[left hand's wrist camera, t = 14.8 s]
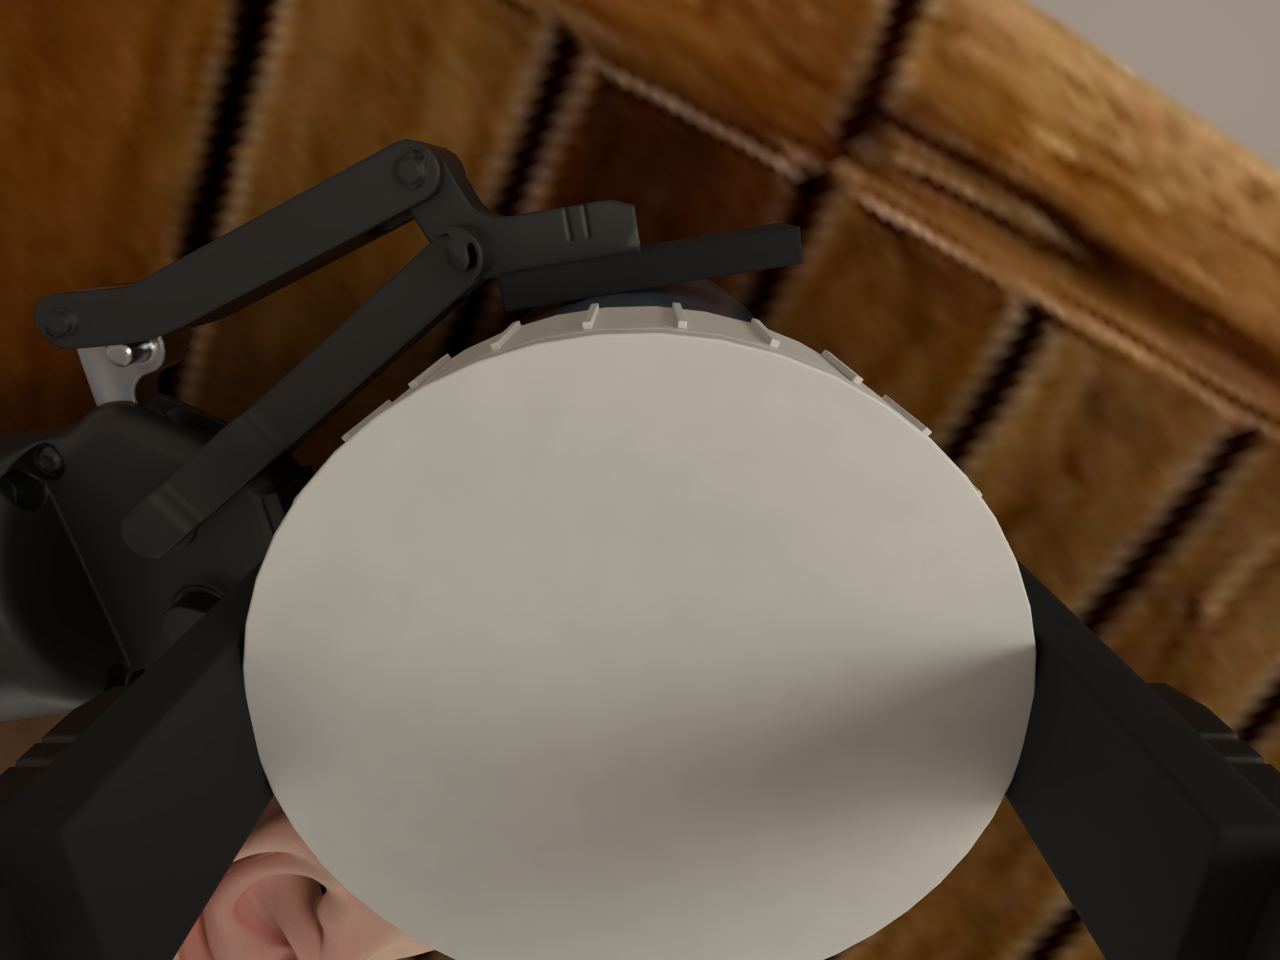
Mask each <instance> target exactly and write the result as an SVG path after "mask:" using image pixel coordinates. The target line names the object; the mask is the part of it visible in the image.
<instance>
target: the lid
mask: <svg viewBox="0 0 1280 960" xmlns="http://www.w3.org/2000/svg"><path fill="white" fill-rule="evenodd" d="M862 381H863V379H862V378H861V377H860V376H858V375H857V374H856V373H855V372H853V371H852V370H851V369H850V368H849V367H847V366H846V365H845V364H844V363H842V362H841V361H840V360H839V359H837V358H836V357H835V356H834V355H832V354H831V353H830V352H828V351H826V350H824V351H823V353H822V355H821V354H819V353H817V352H815V351H814V350H812V349H810V348H808V347H807V346H805V345H803V344H801V343H800V342H798V341H795V340H793V339H790V338H788V337H785V336H783V335H780V334H778V333H775V332H773V331H770V330H768V329H767V328H766V327H765V326H764V325H763V324H762V323H761V322H760V321H759V320H757V319H754V318H752V320H751V323H749V322H745V321H741V320H737V319H733V318H729V317H725V316H721V315H717V314H713V313H709V312H704V311H695V310H686V309H682V307H681V305H680V303H673V304H672V308H667V307H658V306H643V307H605V308H599V304H598V303H596V304H591V305H590V307H589V309H588V310H586V311H580V312H574V313H567V314H561V315H556V316H552V317H549V318H546V319H542V320H539V321H536V322H532V323H529V324H526V325H522V326H521V324H520V321H516V322H513V323H512V324H511V325H510V326H509V327H508V328H507V329H506V330H505V331H504V332H502V333H500V334H498V335H496V336H494V337H492V338H490V339H487V340H485V341H483V342H481V343H479V344H476V345H474V346H472V347H470V348H468V349H466V350H464V351H463V352H461V353H459V354H458V355H456V356H455V357H453V358H452V359H451V357H450V356H449V354H446V355H445V356H443V357H442V358H440V359H439V360H438V361H437V362H435V363H434V364H433V365H431V366H430V367H429V368H428V369H426V370H425V371H424V372H423V373H421V374H420V375H419V376H417V377H416V378H415V379H414V380H412V381H411V382H410V383H409V384H408V385H409V387H410V388H409V389H408V390H407V391H406V392H404V393H403V394H402V395H401V396H400V397H398V398H397V399H396V400H395V401H393V402H391V401H390V400H387V401H386V402H385V403H384V404H382V405H381V406H380V407H378V408H377V409H376V410H375V411H373V412H372V413H371V414H370V415H368V416H367V417H366V418H365V419H363V420H362V421H361V422H359V423H358V424H357V425H356V426H354V427H353V428H352V429H351V430H349V431H348V432H347V433H346V434H345V435H344V436H343V437H342V439H343V440H344V441H345V443H344V444H343V445H341V446H340V447H339V448H338V449H337V450H336V451H335V452H334V453H333V454H332V455H331V456H330V457H329V459H328V460H327V461H326V462H325V463H324V464H323V466H322V467H321V468H320V469H319V470H318V471H317V473H316V474H315V475H314V476H313V477H312V478H311V480H310V481H309V482H308V483H307V484H306V485H305V487H304V488H303V489H302V490H301V491H300V493H299V494H298V495H297V496H296V497H295V499H294V501H293V504H292V506H291V508H290V509H289V511H288V513H287V514H286V516H285V517H284V519H283V521H282V522H281V524H280V526H279V527H278V529H277V530H276V532H275V534H274V536H273V539H272V541H271V543H270V546H269V548H268V551H267V553H266V556H265V558H264V560H263V563H262V565H261V568H260V570H259V573H258V575H257V577H256V581H255V586H254V590H253V594H252V598H251V603H250V607H249V611H248V616H247V620H246V627H245V641H244V656H243V678H244V687H245V693H246V698H247V703H248V708H249V713H250V717H251V722H252V726H253V731H254V735H255V740H256V744H257V749H258V754H259V757H260V761H261V765H262V767H263V770H264V772H265V774H266V777H267V779H268V782H269V784H270V787H271V789H272V791H273V794H274V795H275V797H276V799H277V800H278V802H279V804H280V806H281V807H282V809H283V811H284V812H285V814H286V816H287V818H288V819H289V821H290V823H291V824H292V826H293V828H294V829H295V831H296V832H297V833H298V835H299V836H300V837H301V838H302V840H303V841H304V842H305V844H306V845H307V846H308V847H309V849H310V850H311V851H312V853H313V854H314V855H315V856H316V858H317V859H318V860H319V862H320V863H321V864H322V865H323V866H324V867H325V868H326V869H327V870H328V871H329V872H330V873H331V874H332V875H333V876H334V877H335V878H336V879H337V880H338V881H339V882H340V883H341V884H342V885H343V886H344V887H345V888H346V889H347V890H348V891H349V892H350V893H351V894H352V895H354V896H355V897H356V898H357V899H359V900H360V901H361V902H363V903H364V904H365V905H366V906H368V907H369V908H370V909H371V910H373V911H374V912H375V913H376V914H378V915H379V916H380V917H381V918H383V919H384V920H386V921H387V922H389V923H390V924H392V925H394V926H395V927H397V928H398V929H400V930H402V931H403V932H405V933H406V934H408V935H409V936H411V937H413V938H414V939H416V940H417V941H419V942H421V943H423V944H425V945H427V946H429V947H431V948H433V949H435V950H437V951H439V952H441V953H443V954H445V955H447V956H449V957H451V958H453V959H455V960H824V959H826V958H829V957H831V956H833V955H836V954H838V953H839V952H841V951H843V950H845V949H847V948H849V947H851V946H852V945H854V944H856V943H858V942H860V941H862V940H864V939H865V938H867V937H869V936H871V935H873V934H874V933H876V932H877V931H879V930H880V929H882V928H883V927H885V926H886V925H888V924H889V923H890V922H892V921H893V920H895V919H896V918H898V917H899V916H901V915H902V914H904V913H905V912H907V911H908V910H909V909H910V908H911V907H913V906H914V905H915V904H916V903H917V902H918V901H920V900H921V899H922V898H923V897H924V896H925V895H927V894H928V893H929V892H930V891H931V890H932V889H934V888H935V887H936V886H937V885H938V884H939V883H940V882H941V881H942V880H943V879H944V878H945V877H946V876H947V875H948V874H949V873H950V871H951V870H952V869H953V868H954V867H955V866H956V865H957V864H958V863H959V862H960V861H961V859H962V858H963V857H964V856H965V855H966V854H967V853H968V852H969V850H970V849H971V848H972V846H973V845H974V843H975V842H976V841H977V839H978V838H979V836H980V835H981V833H982V832H983V831H984V829H985V828H986V826H987V825H988V824H989V822H990V821H991V819H992V818H993V816H994V814H995V812H996V810H997V809H998V807H999V805H1000V803H1001V801H1002V799H1003V797H1004V795H1005V793H1006V791H1007V789H1008V787H1009V786H1010V784H1011V782H1012V780H1013V777H1014V774H1015V771H1016V768H1017V766H1018V763H1019V759H1020V755H1021V751H1022V747H1023V743H1024V739H1025V734H1026V730H1027V725H1028V720H1029V716H1030V711H1031V706H1032V702H1033V697H1034V691H1035V676H1036V647H1035V639H1034V631H1033V624H1032V616H1031V608H1030V604H1029V601H1028V597H1027V594H1026V590H1025V587H1024V584H1023V580H1022V577H1021V574H1020V570H1019V567H1018V564H1017V561H1016V559H1015V557H1014V555H1013V553H1012V551H1011V548H1010V546H1009V544H1008V542H1007V540H1006V538H1005V536H1004V534H1003V532H1002V530H1001V528H1000V526H999V524H998V522H997V519H996V518H995V516H994V515H993V513H992V512H991V511H990V509H989V508H988V506H987V505H986V503H985V502H984V500H983V499H982V498H981V496H982V494H981V492H980V491H979V490H978V489H977V488H976V487H975V486H974V485H973V484H972V483H971V482H970V480H969V479H968V477H967V476H966V475H965V474H964V473H963V472H962V471H961V470H960V469H959V468H958V467H957V466H956V465H955V464H954V463H953V462H952V461H951V459H950V458H949V457H948V456H947V455H946V454H945V453H944V452H943V451H942V450H941V449H940V448H939V447H938V446H937V445H936V444H935V443H934V442H933V441H932V440H931V439H930V438H929V437H928V436H929V435H930V434H931V433H932V432H931V431H930V430H929V429H928V428H927V427H926V426H924V425H923V424H922V423H921V422H919V421H918V420H917V419H916V418H914V417H913V416H912V415H911V414H909V413H908V412H907V411H906V410H904V409H903V408H902V407H901V406H899V405H898V404H897V403H895V402H894V401H893V400H892V399H890V398H889V397H888V396H887V395H884V396H883V397H882V398H881V397H879V396H878V395H877V394H876V393H875V392H873V391H872V390H871V389H869V388H868V387H867V386H866V385H864V384H863V383H862Z"/></svg>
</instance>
